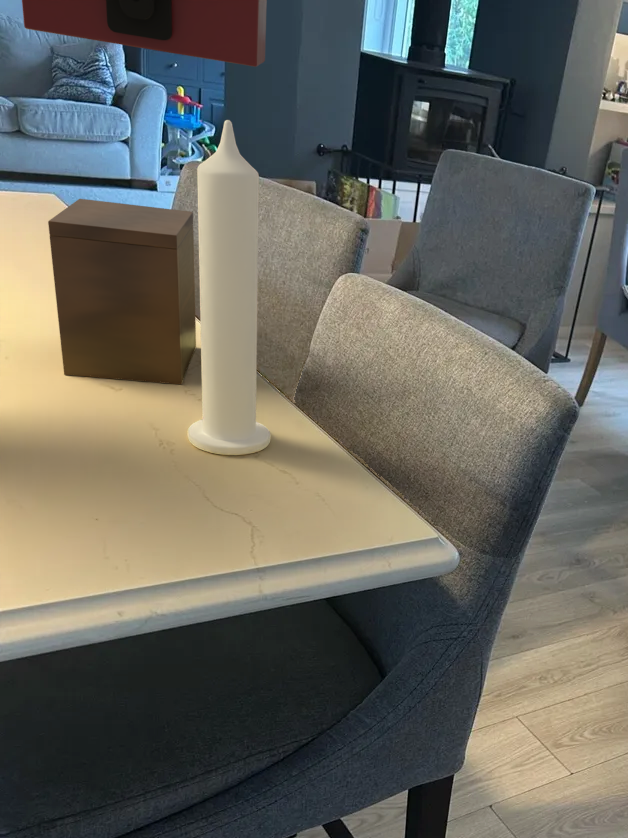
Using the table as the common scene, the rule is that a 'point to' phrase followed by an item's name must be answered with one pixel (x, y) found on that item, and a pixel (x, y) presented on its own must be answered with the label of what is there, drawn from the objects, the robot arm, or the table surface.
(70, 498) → the table surface
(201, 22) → the red rectangular block
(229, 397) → the candle
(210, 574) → the table surface
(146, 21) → the robot arm
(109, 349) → the brown rectangular block
